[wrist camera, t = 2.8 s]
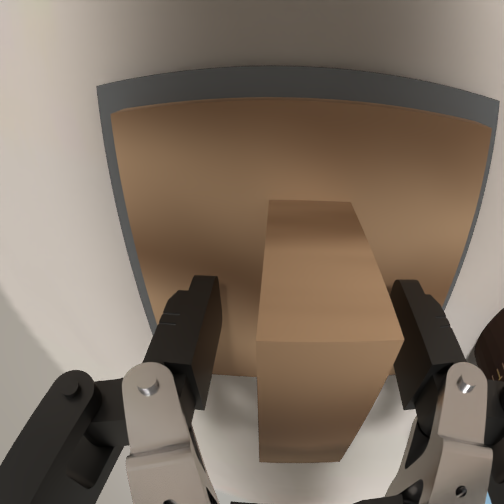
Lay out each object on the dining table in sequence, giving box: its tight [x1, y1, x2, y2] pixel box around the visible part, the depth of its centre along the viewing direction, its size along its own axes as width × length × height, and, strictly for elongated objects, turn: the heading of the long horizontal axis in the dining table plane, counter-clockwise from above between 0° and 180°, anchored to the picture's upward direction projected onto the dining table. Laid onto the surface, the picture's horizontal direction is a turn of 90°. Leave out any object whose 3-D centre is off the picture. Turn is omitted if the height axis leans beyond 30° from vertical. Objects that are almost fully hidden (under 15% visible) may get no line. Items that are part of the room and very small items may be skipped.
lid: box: [110, 97, 492, 463], centre depth 9 cm, size 12×12×6 cm
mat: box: [96, 66, 500, 335], centre depth 12 cm, size 14×14×1 cm
